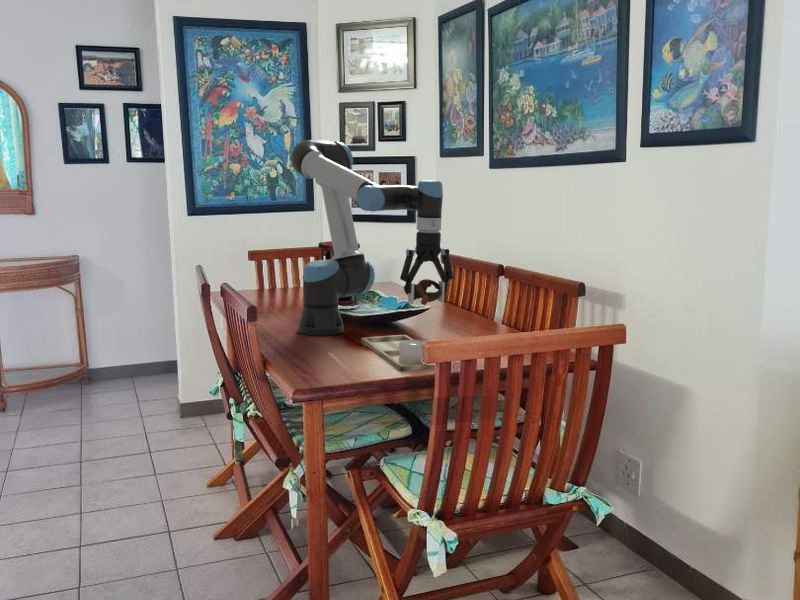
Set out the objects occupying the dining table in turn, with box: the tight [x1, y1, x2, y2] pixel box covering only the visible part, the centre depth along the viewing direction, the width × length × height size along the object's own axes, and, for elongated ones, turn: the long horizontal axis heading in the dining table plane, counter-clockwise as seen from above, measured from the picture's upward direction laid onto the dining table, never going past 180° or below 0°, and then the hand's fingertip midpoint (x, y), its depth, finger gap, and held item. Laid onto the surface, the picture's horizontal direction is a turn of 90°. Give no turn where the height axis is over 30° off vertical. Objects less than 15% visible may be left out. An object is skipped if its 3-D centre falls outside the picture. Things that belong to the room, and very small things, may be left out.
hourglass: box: [317, 240, 361, 306], centre depth 286 cm, size 16×16×25 cm
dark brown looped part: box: [403, 278, 442, 306], centre depth 229 cm, size 12×10×8 cm
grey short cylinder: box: [399, 339, 425, 365], centre depth 207 cm, size 9×9×5 cm
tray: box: [360, 334, 435, 372], centre depth 216 cm, size 15×35×2 cm, turn 21°
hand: (425, 302), depth 229 cm, fingers closed on dark brown looped part, 10 cm apart
